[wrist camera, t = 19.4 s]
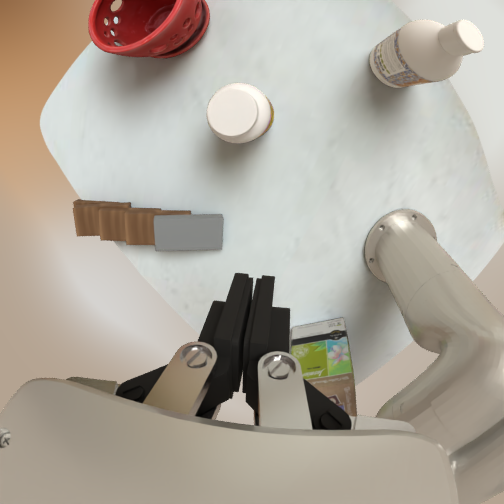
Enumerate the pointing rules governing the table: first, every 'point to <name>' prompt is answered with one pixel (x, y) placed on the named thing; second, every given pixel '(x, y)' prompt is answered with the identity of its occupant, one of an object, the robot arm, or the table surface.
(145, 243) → the domino
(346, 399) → the tea box
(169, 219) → the head domino
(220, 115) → the supplement bottle
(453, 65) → the bath foam
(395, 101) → the table surface
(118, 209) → the domino
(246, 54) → the table surface
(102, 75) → the table surface
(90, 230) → the domino
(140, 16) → the plant pot
